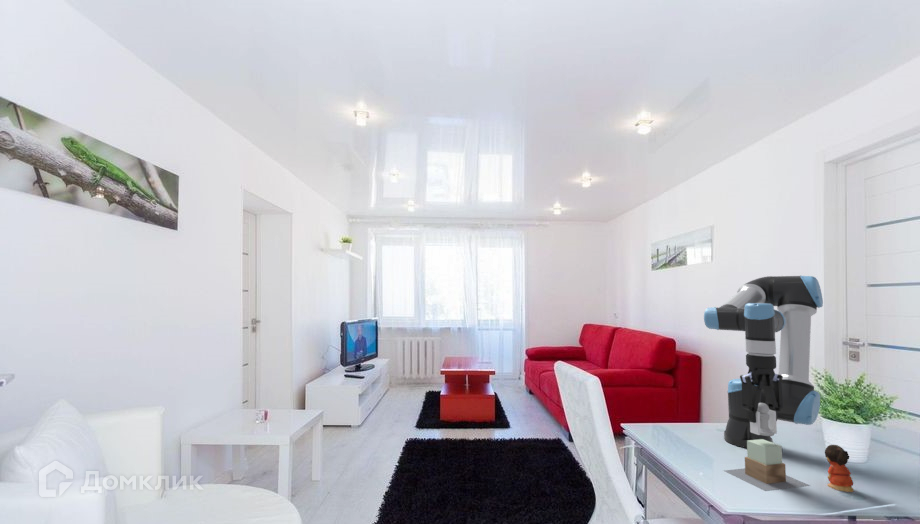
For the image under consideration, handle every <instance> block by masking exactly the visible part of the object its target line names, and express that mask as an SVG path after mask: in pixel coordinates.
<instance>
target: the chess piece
mask: <svg viewBox="0 0 920 524" xmlns="http://www.w3.org/2000/svg"><path fill="white" fill-rule="evenodd" d="M757 412H760V435H763V436H770V437H773V436H774V435H775V434H774V432H773V431H772V430H771V429H769V428H768V420H769V419H770V418H769V414H768V412H769V407H768V405H766V404H765V403H759V404H758V409H757Z"/></svg>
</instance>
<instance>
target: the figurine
mask: <svg viewBox="0 0 920 524" xmlns="http://www.w3.org/2000/svg"><path fill="white" fill-rule="evenodd" d="M824 456H825V458H826V460H827V462H828V464H829V465H830V466H829V467H828V470H827V473H828V475H827V479H828V482H829V483H827V487H829V488H831V489H833V490H836V491H841V492H847V493H853V492H854V491H855V490H854V488H853V487H852V486H853V485H854V481H853V478H852V476H851V475H852V472H850V470H849V468H848V467H847V466H846V464H847V463H849V462H848V461H849V459H850V456H849V453H848V451H847V450H845V449H844V448H843V447H841V446H840V445H837V444H829V445H828V446H827V447H826V448H825V449H824Z"/></svg>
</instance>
